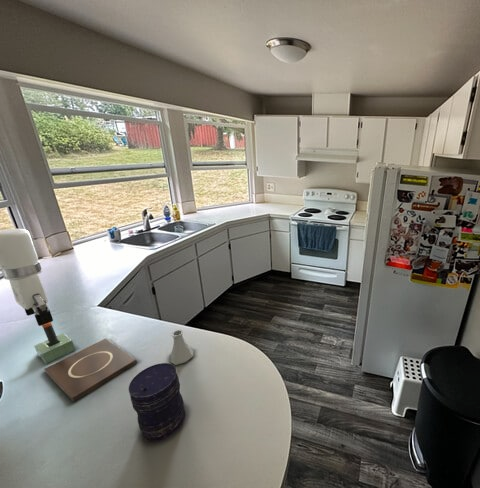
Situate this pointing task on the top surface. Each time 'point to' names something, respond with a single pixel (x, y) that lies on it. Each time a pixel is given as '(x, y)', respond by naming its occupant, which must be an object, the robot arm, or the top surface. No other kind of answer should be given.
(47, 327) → the marker
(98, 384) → the board
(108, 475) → the top surface
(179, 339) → the flask
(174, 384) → the storage jar
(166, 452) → the top surface
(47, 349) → the pen stand
